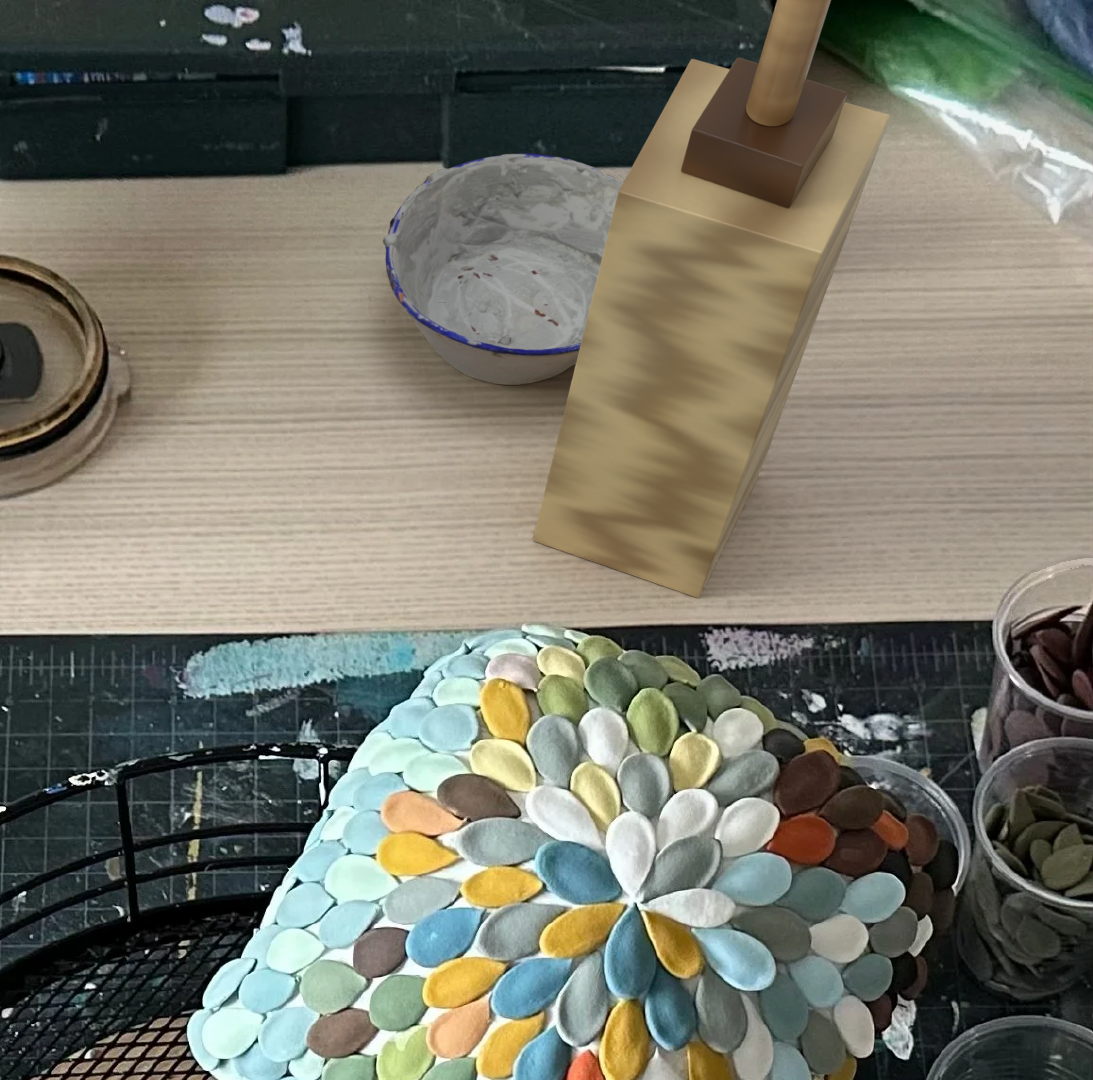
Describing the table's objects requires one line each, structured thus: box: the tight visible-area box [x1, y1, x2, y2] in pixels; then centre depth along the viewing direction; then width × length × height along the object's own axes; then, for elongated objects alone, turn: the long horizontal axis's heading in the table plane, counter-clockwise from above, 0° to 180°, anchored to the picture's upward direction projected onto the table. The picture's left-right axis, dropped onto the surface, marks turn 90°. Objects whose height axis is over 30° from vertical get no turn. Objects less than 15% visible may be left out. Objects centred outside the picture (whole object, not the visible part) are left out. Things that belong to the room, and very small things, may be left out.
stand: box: [532, 58, 891, 599], centre depth 97 cm, size 8×8×20 cm
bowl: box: [382, 152, 623, 386], centre depth 109 cm, size 13×13×5 cm
